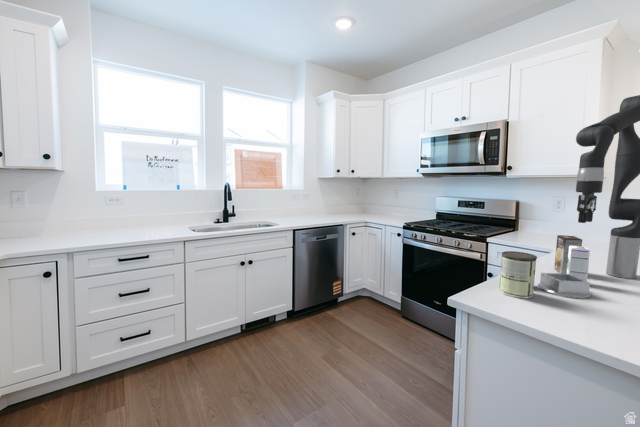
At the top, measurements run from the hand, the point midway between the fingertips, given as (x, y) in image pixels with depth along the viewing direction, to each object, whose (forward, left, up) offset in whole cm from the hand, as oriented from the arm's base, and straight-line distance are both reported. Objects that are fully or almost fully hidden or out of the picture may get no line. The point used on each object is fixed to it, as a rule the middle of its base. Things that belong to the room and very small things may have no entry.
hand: (585, 222), depth 116 cm
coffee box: (-14, -7, -25) cm, 29 cm away
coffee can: (+33, -12, -25) cm, 43 cm away
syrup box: (+1, -1, -25) cm, 25 cm away
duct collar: (+16, -2, -24) cm, 29 cm away
